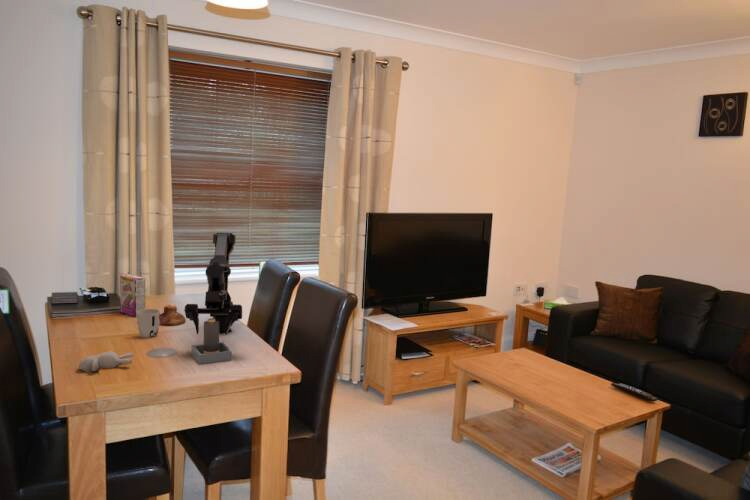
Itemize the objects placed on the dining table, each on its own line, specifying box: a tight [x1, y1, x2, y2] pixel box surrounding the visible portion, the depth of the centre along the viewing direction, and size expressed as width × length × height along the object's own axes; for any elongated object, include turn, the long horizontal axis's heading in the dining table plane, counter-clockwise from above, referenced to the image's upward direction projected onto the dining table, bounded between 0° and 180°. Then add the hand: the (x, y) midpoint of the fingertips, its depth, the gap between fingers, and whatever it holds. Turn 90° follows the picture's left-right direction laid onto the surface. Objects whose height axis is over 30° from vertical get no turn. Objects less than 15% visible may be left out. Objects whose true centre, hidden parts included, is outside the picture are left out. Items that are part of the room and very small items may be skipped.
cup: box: [136, 308, 161, 339], centre depth 209 cm, size 8×8×10 cm
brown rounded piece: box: [159, 304, 186, 327], centre depth 231 cm, size 12×12×7 cm
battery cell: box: [203, 317, 220, 354], centre depth 189 cm, size 5×5×13 cm
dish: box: [191, 341, 233, 365], centre depth 190 cm, size 11×11×4 cm
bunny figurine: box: [78, 350, 134, 373], centre depth 177 cm, size 10×5×15 cm
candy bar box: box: [119, 273, 146, 318], centre depth 239 cm, size 11×5×16 cm, turn 58°
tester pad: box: [145, 347, 179, 359], centre depth 191 cm, size 10×10×1 cm
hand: (211, 333), depth 189 cm, fingers open, 9 cm apart
